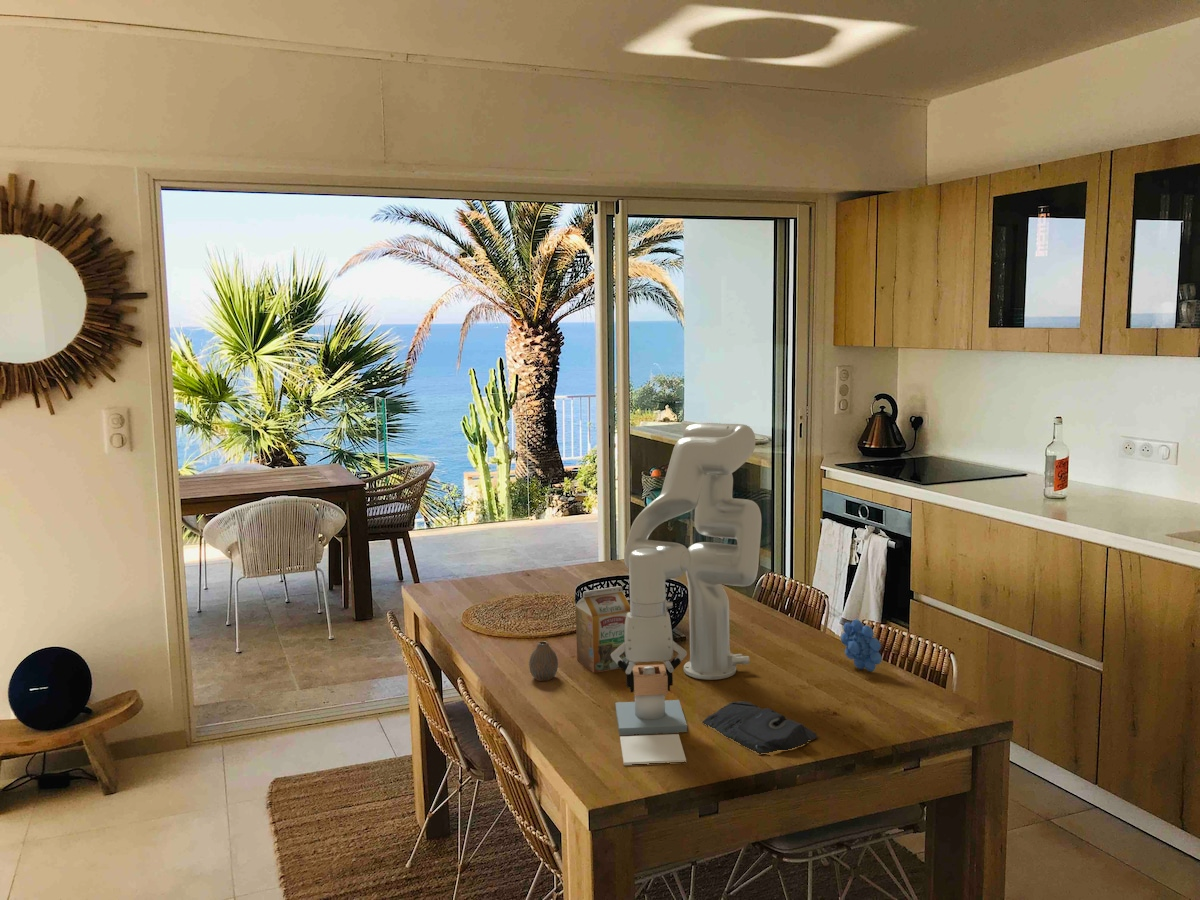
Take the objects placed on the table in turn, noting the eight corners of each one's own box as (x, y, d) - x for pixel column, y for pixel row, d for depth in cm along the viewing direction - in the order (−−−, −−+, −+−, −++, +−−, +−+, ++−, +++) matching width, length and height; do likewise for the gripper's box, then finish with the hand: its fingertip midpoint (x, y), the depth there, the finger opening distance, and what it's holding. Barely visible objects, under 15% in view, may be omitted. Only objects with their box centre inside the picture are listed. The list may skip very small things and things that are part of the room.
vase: (554, 684, 234) (553, 648, 233) (526, 682, 236) (525, 646, 234) (561, 673, 241) (560, 638, 240) (534, 672, 242) (532, 637, 241)
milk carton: (594, 673, 241) (591, 596, 238) (577, 660, 250) (574, 586, 248) (633, 665, 245) (631, 591, 243) (615, 653, 255) (613, 581, 252)
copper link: (664, 682, 214) (664, 664, 213) (667, 694, 207) (667, 675, 207) (631, 683, 214) (631, 665, 213) (634, 695, 207) (633, 677, 206)
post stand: (679, 706, 218) (678, 656, 217) (687, 732, 205) (686, 678, 203) (615, 709, 218) (614, 658, 216) (619, 735, 204) (618, 681, 203)
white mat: (678, 736, 203) (678, 734, 202) (686, 762, 191) (686, 759, 191) (620, 739, 202) (619, 736, 202) (623, 765, 190) (623, 762, 190)
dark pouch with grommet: (751, 708, 218) (751, 687, 217) (824, 742, 199) (824, 719, 199) (696, 724, 210) (695, 703, 209) (765, 762, 191) (765, 738, 191)
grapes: (829, 667, 240) (829, 618, 239) (847, 660, 245) (848, 613, 243) (869, 679, 231) (869, 630, 230) (887, 673, 235) (887, 624, 234)
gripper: (686, 601, 212) (688, 681, 214) (605, 604, 212) (607, 684, 214) (691, 611, 205) (692, 694, 207) (607, 614, 204) (609, 697, 206)
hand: (649, 688), depth 210 cm, fingers closed on copper link, 7 cm apart
